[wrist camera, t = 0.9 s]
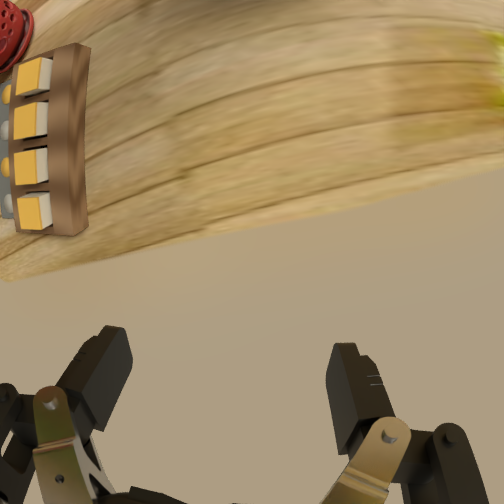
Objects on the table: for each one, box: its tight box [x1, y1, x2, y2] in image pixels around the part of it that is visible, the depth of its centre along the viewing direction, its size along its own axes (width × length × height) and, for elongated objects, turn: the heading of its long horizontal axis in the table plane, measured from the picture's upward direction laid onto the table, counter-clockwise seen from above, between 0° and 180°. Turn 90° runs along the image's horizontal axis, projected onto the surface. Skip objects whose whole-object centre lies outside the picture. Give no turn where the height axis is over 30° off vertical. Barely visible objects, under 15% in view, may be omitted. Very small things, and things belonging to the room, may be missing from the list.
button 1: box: [16, 57, 53, 96], centre depth 24 cm, size 4×4×4 cm
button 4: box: [17, 191, 53, 230], centre depth 31 cm, size 4×4×4 cm
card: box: [0, 79, 14, 218], centre depth 32 cm, size 23×6×1 cm, turn 176°
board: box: [8, 43, 91, 236], centre depth 30 cm, size 25×12×4 cm, turn 176°
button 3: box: [14, 148, 49, 185], centre depth 29 cm, size 4×4×4 cm
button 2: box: [14, 102, 49, 140], centre depth 27 cm, size 4×4×4 cm
